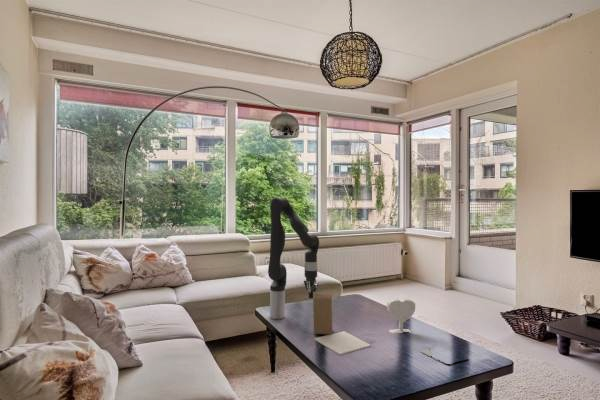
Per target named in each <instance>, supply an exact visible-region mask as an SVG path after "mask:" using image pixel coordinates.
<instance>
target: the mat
mask: <svg viewBox="0 0 600 400" xmlns="http://www.w3.org/2000/svg"><path fill="white" fill-rule="evenodd" d="M314 341H315V342H318V343H319V344H321V345H323V346H325V347H326V348H327V349H329V350H330V351H332V352H334V353H335V354H336V355H338V356H341V355H345V354H347V353H351V352H355V351H359V350H362V349H366V348H369V347H372V345H371V344H370V343H368V342H366V341H364V340H361V339H360V338H358V337H356V336H354V335H352V334H351V333H348V332H347V331H344V330H343V331H341V332H335V333H332V334H325V335H323V336H318V337H315V338H314Z"/></svg>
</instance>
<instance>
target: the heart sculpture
mask: <svg viewBox="0 0 600 400" xmlns="http://www.w3.org/2000/svg"><path fill="white" fill-rule="evenodd" d="M386 309H387V312H388V314H389V315H390V316H391V317H393V318H394V319H395V320H396V321H398V329H397V328H396V329H389V330H388V331H389V332H390V333H391V334H402V333H403V332H409V333H412V332H411V331H410V330H411V329H410V328H404V322H406V321H407V320H410V318H411V317H412V316H413V315H414V313H415V311H416V303H415V302H414V301H413V300H411V299H410V298H401V299H398V298H392V299H389V300H388V301H387V302H386ZM409 329H410V330H409ZM403 334H404V333H403Z"/></svg>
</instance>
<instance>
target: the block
mask: <svg viewBox="0 0 600 400" xmlns="http://www.w3.org/2000/svg"><path fill="white" fill-rule="evenodd" d="M332 298H333V297H332V294H329V293H327V294H326V293H325V294H324V293H322V294H321V293H317V294H313V298H312V299H313V302H312V303H313V304H312V305H313V307H312V308H313V334H315V335H331V334H333V305H332V304H333V303H332V302H333V300H332Z"/></svg>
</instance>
